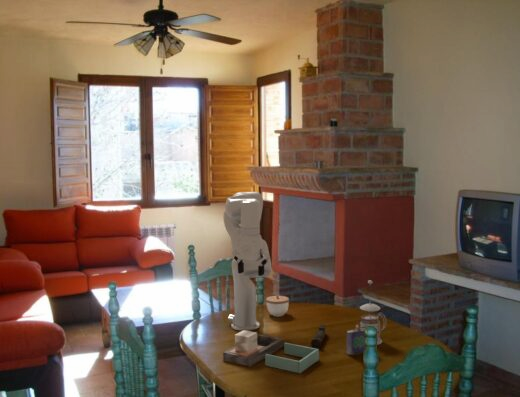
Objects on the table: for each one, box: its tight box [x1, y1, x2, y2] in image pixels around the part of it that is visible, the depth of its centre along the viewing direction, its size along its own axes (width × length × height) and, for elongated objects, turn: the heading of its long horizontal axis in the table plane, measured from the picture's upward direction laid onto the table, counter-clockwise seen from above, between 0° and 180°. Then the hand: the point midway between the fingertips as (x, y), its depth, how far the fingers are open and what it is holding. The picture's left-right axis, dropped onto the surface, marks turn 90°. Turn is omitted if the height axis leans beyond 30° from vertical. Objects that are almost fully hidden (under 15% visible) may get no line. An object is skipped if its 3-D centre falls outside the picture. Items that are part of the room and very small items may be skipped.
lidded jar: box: [265, 294, 290, 317], centre depth 260 cm, size 11×11×9 cm
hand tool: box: [310, 324, 326, 349], centre depth 223 cm, size 19×4×5 cm, turn 162°
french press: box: [359, 279, 387, 346], centre depth 220 cm, size 10×12×25 cm
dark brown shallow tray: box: [222, 333, 285, 367], centre depth 210 cm, size 12×24×3 cm, turn 148°
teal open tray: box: [264, 342, 320, 374], centre depth 200 cm, size 14×15×4 cm
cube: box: [234, 330, 258, 353], centre depth 205 cm, size 6×6×6 cm
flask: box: [346, 324, 366, 356], centre depth 208 cm, size 9×3×11 cm, turn 109°
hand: (251, 274), depth 219 cm, fingers open, 9 cm apart
